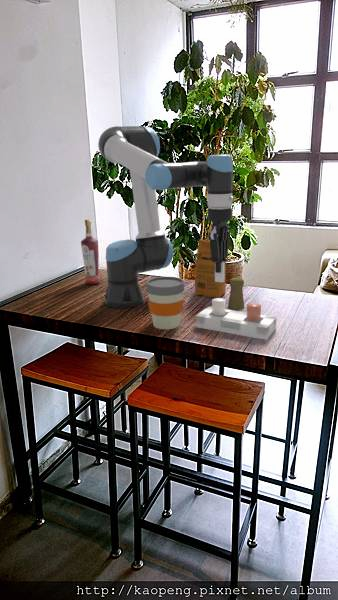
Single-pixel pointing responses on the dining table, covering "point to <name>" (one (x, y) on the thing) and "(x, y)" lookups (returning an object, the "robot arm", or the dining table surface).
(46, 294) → the dining table surface
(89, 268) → the liquor
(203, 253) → the coffee package
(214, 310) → the white rounded piece
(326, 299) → the dining table surface
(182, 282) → the reusable coffee cup
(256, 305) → the salmon rounded knob
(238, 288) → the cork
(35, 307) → the dining table surface
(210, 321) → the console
